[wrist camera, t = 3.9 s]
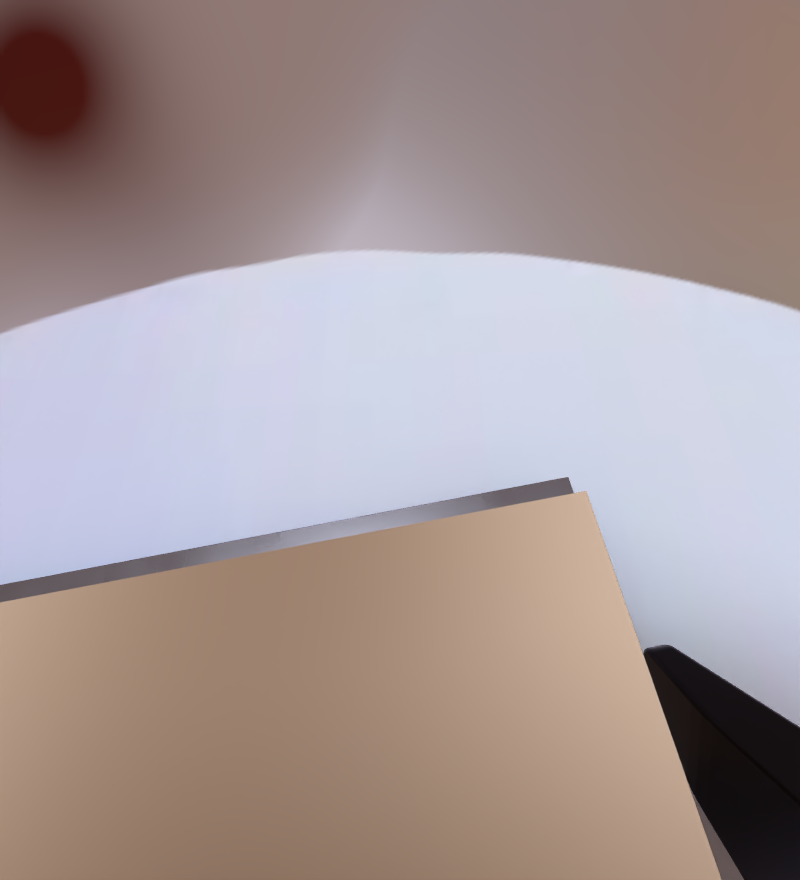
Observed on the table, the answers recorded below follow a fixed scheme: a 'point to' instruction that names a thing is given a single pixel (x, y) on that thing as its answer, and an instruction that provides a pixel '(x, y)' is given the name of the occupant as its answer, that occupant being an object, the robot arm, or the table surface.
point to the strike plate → (285, 539)
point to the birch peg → (347, 716)
